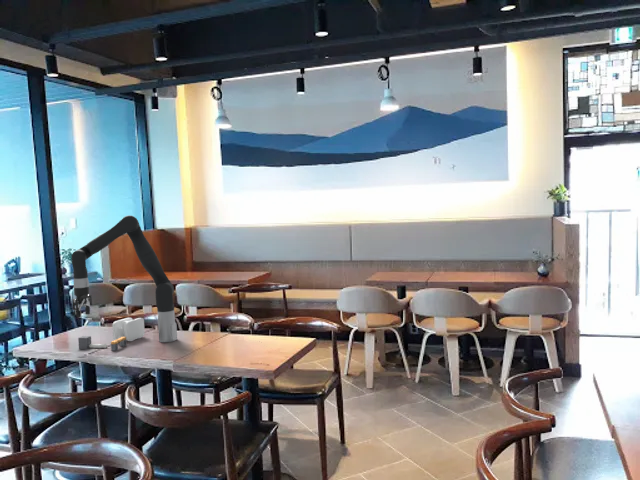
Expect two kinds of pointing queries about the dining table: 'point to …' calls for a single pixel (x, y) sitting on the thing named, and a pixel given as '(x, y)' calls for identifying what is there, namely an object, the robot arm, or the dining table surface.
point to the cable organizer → (128, 329)
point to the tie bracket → (115, 343)
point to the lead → (88, 343)
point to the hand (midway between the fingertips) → (83, 315)
